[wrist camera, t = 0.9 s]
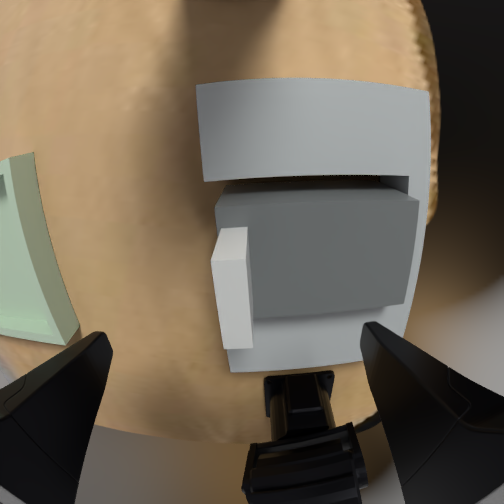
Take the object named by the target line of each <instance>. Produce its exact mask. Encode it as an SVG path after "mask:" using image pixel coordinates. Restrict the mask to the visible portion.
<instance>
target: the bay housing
mask: <svg viewBox="0 0 504 504" xmlns="http://www.w3.org/2000/svg"><path fill="white" fill-rule="evenodd" d="M196 98H197V111H198V123H199V135H200V146H201V157H202V167H203V177H204V182H209V181H220V180H232V179H245V178H260V177H279V176H303V175H380V183H383V184H385V185H387V186H389V187H392V188H394V189H396V190H398V191H400V192H403V193H405V194H407V195H409V196H411V197H413V198H415V199H417V200H419V201H420V202H419V213H418V223H417V231H416V239H415V246H414V253H413V259H412V265H411V271H410V276H409V281H408V286H407V291H406V296H405V301H404V304H399V305H392V306H384V307H376V308H368V309H360V310H351V311H342V312H332V313H321V314H309V315H297V316H283V317H267V318H253V348H245V349H227V354H228V360H229V366H230V372H257V371H274V370H288V369H299V368H310V367H319V366H327V365H335V364H342V363H349V362H356V361H362V360H363V357H362V353H361V349H360V338H361V333H362V327H363V324H364V323H365V322H370V321H376V322H378V323H380V324H381V325H383V326H384V327H386V328H388V329H389V330H391V331H392V332H394V333H396V334H397V335H399V336H400V337H402V338H403V335H404V331H405V328H406V324H407V320H408V316H409V312H410V308H411V304H412V300H413V296H414V291H415V286H416V282H417V277H418V271H419V266H420V261H421V255H422V248H423V241H424V234H425V227H426V219H427V209H428V198H429V184H430V162H431V124H430V103H429V92H428V91H423V90H418V89H413V88H407V87H401V86H395V85H388V84H381V83H373V82H364V81H354V80H342V79H325V78H263V79H246V80H233V81H223V82H214V83H205V84H198V85H196Z"/></svg>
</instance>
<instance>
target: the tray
mask: <svg viewBox="0 0 504 504" xmlns="http://www.w3.org/2000/svg"><path fill="white" fill-rule="evenodd" d="M79 326H80V324H79V322H78V320H77V317H76V315H75V312H74V310H73V307H72V305H71V302H70V299H69V297H68V294H67V291H66V289H65V286H64V283H63V280H62V277H61V274H60V271H59V268H58V265H57V262H56V258H55V255H54V251H53V248H52V244H51V241H50V237H49V233H48V229H47V225H46V221H45V217H44V212H43V208H42V203H41V198H40V193H39V187H38V181H37V175H36V168H35V161H34V153H33V152H32V153H27V154H23V155H18V156H14V157H10V158H7V159H5V160H3V161H1V162H0V334H1V335H6V336H11V337H16V338H22V339H27V340H33V341H39V342H45V343H52V344H59V345H67V343H68V342H69V340H70V339H71V337H72V336H73V335H74V333H75V332H76V331H77V329H78V328H79Z"/></svg>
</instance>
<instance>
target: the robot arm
mask: <svg viewBox="0 0 504 504" xmlns="http://www.w3.org/2000/svg"><path fill="white" fill-rule="evenodd" d="M360 349H361V353H362V357H363V361H364V366H365V370H366V375H367V379H368V383H369V386H370V389H371V392H372V395H373V398H374V401H375V404H376V407H377V410H378V412H379V415H380V418H381V421H382V425H383V428H384V430H385V434H386V437H387V440H388V443H389V447H390V450H391V453H392V456H393V460H394V463H395V466H396V470H397V473H398V477H399V480H400V484H401V486H402V487H401V488H402V492H403V496H404V500H405V504H504V397H503V396H501V395H499V394H497V393H495V392H493V391H491V390H489V389H487V388H485V387H483V386H481V385H479V384H477V383H475V382H473V381H471V380H470V379H468V378H466V377H464V376H463V375H461V374H459V373H458V372H456V371H455V370H453V369H451V368H450V367H449V368H448V366H447V365H445V364H443V363H442V362H440V361H438V360H437V359H435V358H434V357H432V356H431V355H429V354H428V353H426V352H424V351H423V350H421V349H420V348H418V347H416V346H415V345H413V344H412V343H410V342H408V341H407V340H405V339H404V338H402V337H400V336H399V335H397V334H396V333H394V332H392V331H391V330H389V329H388V328H386V327H384V326H383V325H381V324H380V323H378V322H376V321H370V322H365V323H364V324H363V327H362V333H361V338H360ZM112 356H113V350H112V347H111V345H110V342H109V340H108V337H107V335H106V334H105V332H99V331H95V332H93V333H91V334H89V335H88V336H86V337H85V338H83V339H81V340H80V341H78V342H76V343H75V344H73V345H72V346H70V347H68V348H67V349H65V350H64V351H62V352H60V353H59V354H57V355H56V356H54V357H52V358H51V359H49V360H48V361H46V362H44V363H43V364H41V365H40V366H38V367H36V368H35V369H33V370H32V371H30V372H28V373H27V374H25V375H24V376H22V377H20V378H19V379H17V380H16V381H14V382H12V383H11V384H9V385H7V386H5V387H4V388H2V389H0V504H75V499H76V494H77V489H78V484H79V479H80V475H81V471H82V466H83V462H84V458H85V455H86V450H87V447H88V443H89V439H90V436H91V432H92V429H93V426H94V422H95V419H96V416H97V412H98V409H99V406H100V403H101V400H102V397H103V393H104V390H105V386H106V382H107V378H108V373H109V369H110V365H111V360H112ZM334 377H335V375H334V372H333V371H331V370H329V371H320V372H312V373H302V374H291V375H278V376H267V377H265V378H264V387H265V403H266V416H267V417H269V418H270V419H271V439H272V441H271V442H265V443H251V444H250V450H249V451H248V456H247V461H246V467H245V472H244V477H243V483H242V487H241V489H242V492H243V493H244V494H245V495H246V499H247V501H248V503H249V504H362V500H361V495H360V489H362V488H365V487H368V479H367V473H366V468H365V463H364V459H363V456H362V452H361V449H360V446H359V442H358V439H357V436H356V433H355V430H354V427H353V424H352V422H349V423H346V425H342V426H339V427H336V425H335V421H334V417H333V412H332V408H331V404H330V398H331V393H332V388H333V383H334Z"/></svg>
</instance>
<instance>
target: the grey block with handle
mask: <svg viewBox="0 0 504 504" xmlns="http://www.w3.org/2000/svg"><path fill="white" fill-rule="evenodd" d="M419 202H420V201H419V200H417V199H415V198H413V197H411V196H409V195H407V194H405V193H403V192H400V191H398V190H396V189H394V188H392V187H389V186H387V185H385V184H383V183H380V182H378V181H376V180H324V181H289V182H267V183H250V184H235V185H226V186H225V188H224V190H223V192H222V194H221V196H220V198H219V200H218V201H217V203H216V205H215V207H214V208H215V218H216V227H217V237H218V239H217V243H216V246H215V249H214V252H213V255H212V258H211V267H212V274H213V281H214V288H215V295H216V302H217V309H218V315H219V322H220V328H221V334H222V341H223V347H224V349H245V348H253V318H267V317H283V316H297V315H309V314H321V313H332V312H342V311H351V310H360V309H368V308H376V307H384V306H392V305H399V304H404V301H405V296H406V291H407V286H408V281H409V276H410V271H411V265H412V259H413V253H414V246H415V239H416V231H417V223H418V213H419Z"/></svg>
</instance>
